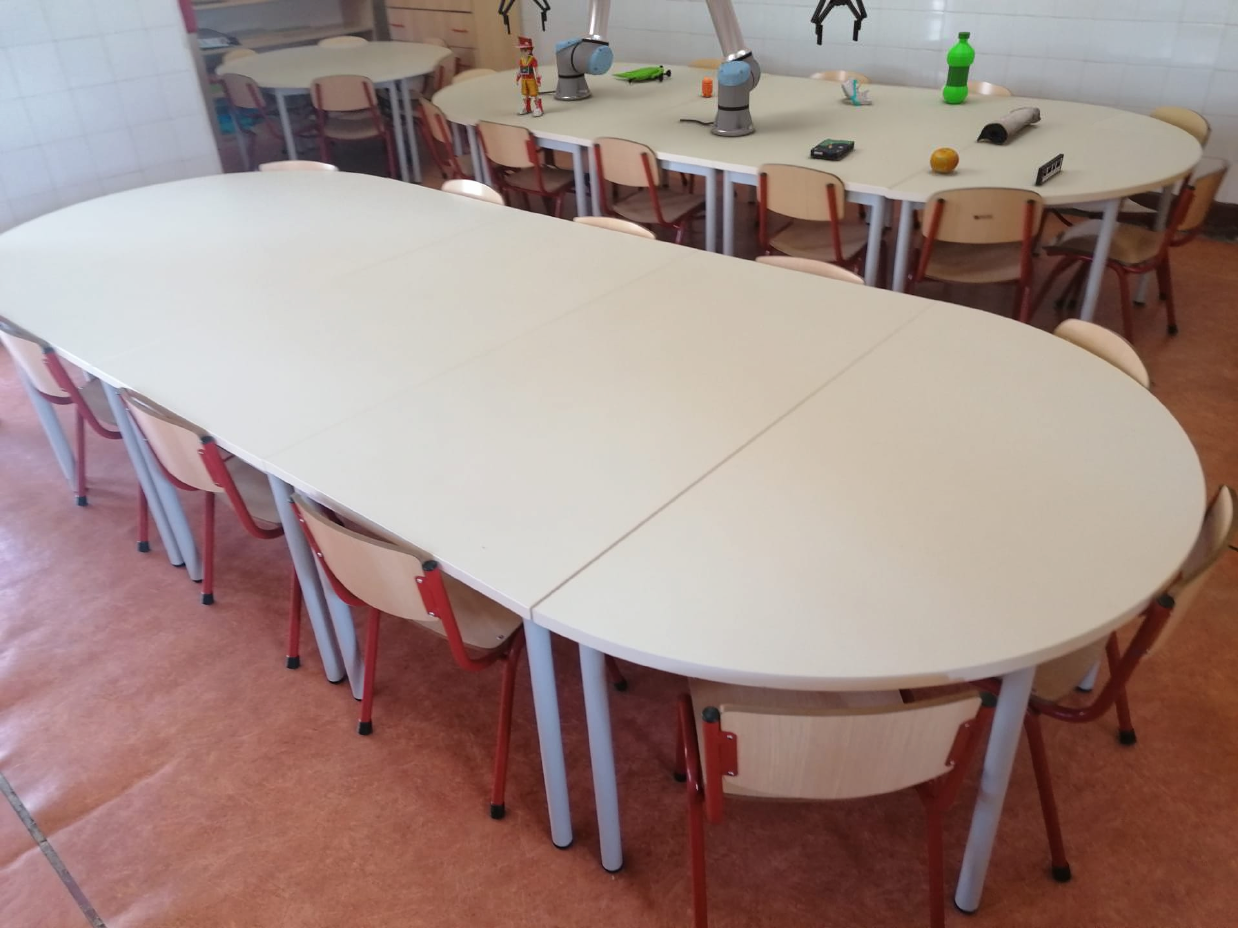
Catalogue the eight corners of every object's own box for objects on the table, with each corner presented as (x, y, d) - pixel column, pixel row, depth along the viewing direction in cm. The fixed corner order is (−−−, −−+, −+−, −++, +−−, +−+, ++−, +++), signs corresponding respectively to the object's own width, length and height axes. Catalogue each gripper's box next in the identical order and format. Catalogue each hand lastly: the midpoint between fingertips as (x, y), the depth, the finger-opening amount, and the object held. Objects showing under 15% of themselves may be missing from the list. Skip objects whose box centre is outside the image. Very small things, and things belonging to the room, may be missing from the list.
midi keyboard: (1039, 185, 269) (1043, 168, 266) (1035, 184, 270) (1038, 168, 267) (1060, 170, 279) (1064, 154, 277) (1056, 169, 280) (1060, 153, 277)
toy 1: (513, 115, 373) (504, 37, 356) (523, 110, 380) (514, 33, 363) (539, 117, 369) (531, 37, 352) (548, 111, 376) (541, 33, 359)
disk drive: (838, 161, 299) (854, 149, 309) (839, 153, 298) (855, 140, 308) (809, 158, 304) (825, 146, 314) (810, 149, 302) (826, 137, 313)
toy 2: (680, 71, 422) (628, 71, 438) (679, 59, 419) (627, 60, 435) (647, 89, 405) (595, 88, 421) (646, 77, 402) (593, 76, 418)
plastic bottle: (973, 101, 354) (984, 32, 339) (955, 106, 349) (966, 36, 335) (952, 97, 361) (962, 29, 346) (934, 102, 356) (944, 33, 342)
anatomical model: (836, 76, 365) (861, 69, 364) (839, 102, 371) (863, 95, 370) (847, 84, 352) (872, 77, 352) (849, 111, 358) (874, 104, 358)
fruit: (924, 163, 281) (941, 140, 278) (925, 165, 289) (941, 143, 286) (946, 178, 280) (963, 155, 277) (947, 180, 288) (963, 158, 285)
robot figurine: (714, 97, 382) (714, 77, 377) (704, 99, 381) (704, 78, 377) (710, 94, 387) (710, 74, 383) (700, 95, 387) (700, 75, 382)
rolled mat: (1008, 112, 326) (1032, 94, 318) (1022, 133, 327) (1046, 116, 319) (972, 135, 309) (997, 117, 301) (987, 157, 310) (1012, 140, 301)
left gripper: (551, -33, 342) (556, 28, 354) (486, -28, 338) (493, 34, 350) (554, -31, 335) (559, 31, 348) (488, -26, 332) (495, 37, 344)
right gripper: (871, -29, 313) (865, 37, 325) (803, -22, 309) (800, 44, 321) (880, -27, 306) (874, 41, 319) (811, -20, 303) (808, 48, 315)
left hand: (526, 32), depth 349 cm, fingers open, 13 cm apart
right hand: (837, 43), depth 320 cm, fingers open, 13 cm apart
